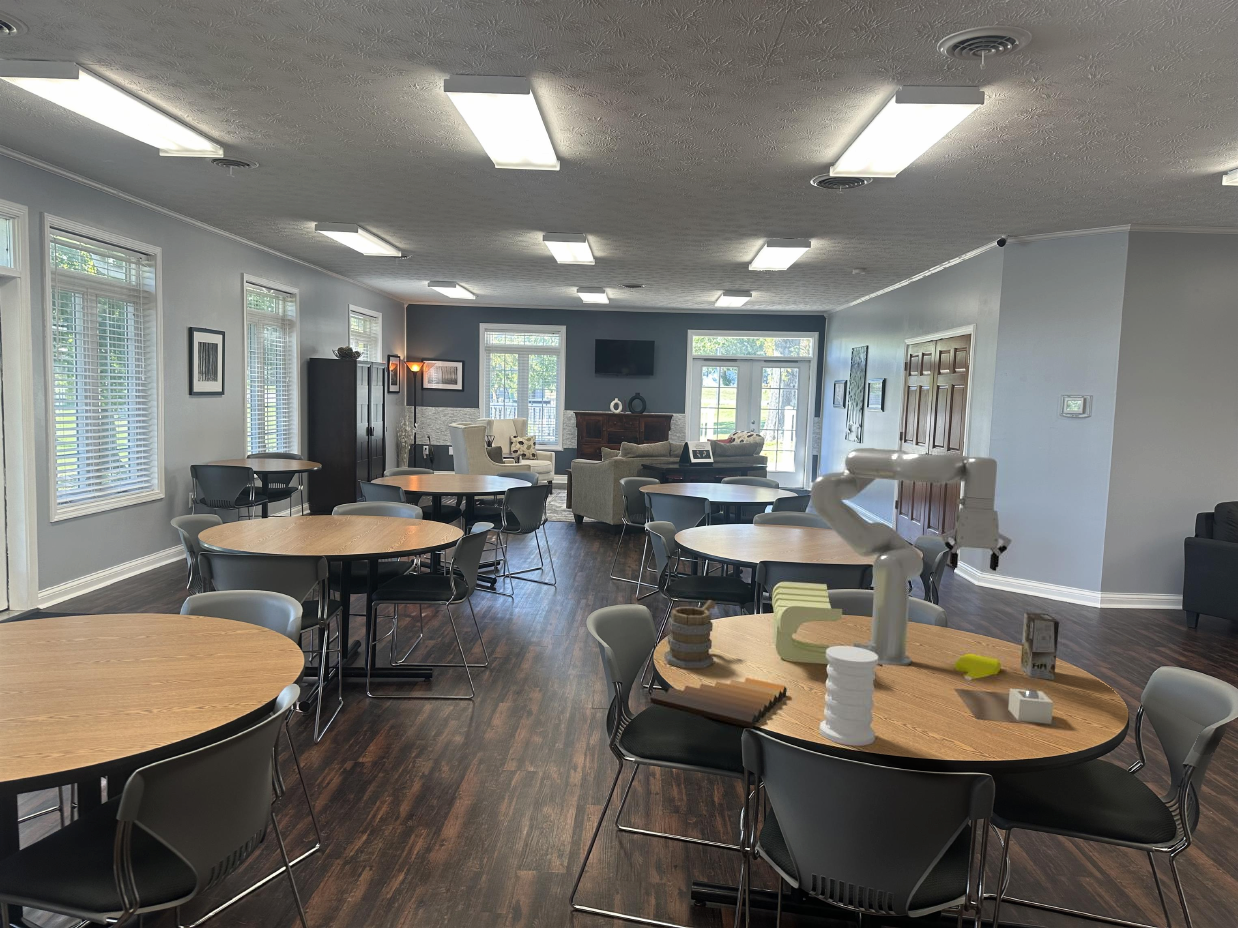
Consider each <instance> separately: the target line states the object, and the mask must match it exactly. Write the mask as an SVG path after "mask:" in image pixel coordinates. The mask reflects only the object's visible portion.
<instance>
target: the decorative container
mask: <svg viewBox="0 0 1238 928" xmlns="http://www.w3.org/2000/svg"><path fill="white" fill-rule="evenodd" d="M826 658H827V659H828V660H829V664H827V666H826V673H827V679H826V681H825V687H826V690H827V691H826V693H825V695H824V696H825V697H824V700H825V704H826V705H825V707H824V710H823V713H824V718H825V720H822V721H821V722H820V724H819V734H820V735H821V736H822V737H824V738H825V739H826V740H828V741H831V742H832V743H833V742H834V743H837V744H839V745H846V746H852V747H861V746H867V745H871V744H873V743H874V742H875V739H876V732H875V730H874V728H872V727H871V725H872V722H873V713H872V710H873V708H874V700H873V695H874V693H875V686H874V681H875V678H876V676H877V675H876V671H875V667H876V666H877V665H879V664H878V655H877V654H875V653H874V652H872V651H869V650H866V649H862V648H858V647H853V646H851V645H850V646H849V645H848V646H847V645H836V646H835V645H834V646H830V647H829V648H828V649H827V650H826Z"/></svg>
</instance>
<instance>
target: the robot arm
mask: <svg viewBox="0 0 1238 928" xmlns="http://www.w3.org/2000/svg"><path fill="white" fill-rule="evenodd" d="M844 464H845V469H844V470H843V471H840V472H830V473H824V474H822V475H820V476H818V477H817V478H816V479H815V480H814V481H813V483H812V486H811V489H810V502H811V504H812V508H813V510H814V511H815V513H816V514H817V515H818V516H819V518H820V519H821V520H822V521H823V522H824V523H825V524H827V526H828V527H830V528H831V529H832V531H834V532H835V533H836V534H837V535H838V536H839V538H841V539H842V540H843V541H844V542H845V543H846V544H847V545H848V546H849V547H850V548H851V549H852V550H853V551H854V552H855V553H856V554H858V555H859V556H860V557H863V558H864V557H865V558H869V557H874V556H877V557H876V558H875V560H874V562H873V564H872V580H873V601H872V604H873V605H872V617H871V618H872V619H871V620H872V621H871V635H870V636H871V637H870V640H869V639H868V642H865V643H860V642H853V645H852V647H858V648H862V649H866V650H869V651H872V652H874V653H875V654H877V655H878V664H877V665H880V666H883V665H886V666H898V667H907V666H910V665H911V663H912V658H911V657H910V656H908V655H907V654H906V651H907V638H908V637H907V636H908V626H909V625H908V623H909V622H908V620H909V608H910V606H909V605H910V594H909V593H910V592H909V586H908V582H909V581H912V580H914V579H916V578H918V577H919V576H920V575H921V573H922V572H923V569H924V561H923V559H922V556H921V555H920V553H919V552H918V551H917V550H916V549H915V548H914V547H913V546H912V545H911V544H910V543H909V542H908V541H907V540H906V539H904V538H903V537H902V536H901V535H900V534H899V533H898V532H897V531H896V530H895V529H894V528H892V527H891V526H889V525H888V524H886V523H884V522H880V521H879V522H876V521H875V522H874V521H873V522H869V521H867V520H866V519H864V518H863V516H861V515H860V514H859V513H858V511H856V510H855V509H854V508H853V507H851V506H849V505H848V504H846V503H845V502H844V501H846V500H850V499H853V498H855V497H856V496H858V495H859V494H861V492H863V491H864V490H865V489H866V488H867V487H869V485H871V484H872V483H873V482H874V481H876V480H877V479H880V480H889V481H890V480H891V481H901V482H903V481H904V482H905V481H906V482H918V483H928V484H930V483H931V484H951V483H960V482H961V483H962V482H963V495H962V497H961V498H957V500H956V504H958V505H961V507H959V510H958V513H957V516H956V517H957V518H956V521H955V522H956V523H955V527H954V529H952V530H949V531H947V532H945V533H942V534H940V538H941V540H942V542H943V545H944V546H945V547H946V549H948V550H949V551H950V552H949V555H950V556H949V564H950V565H951V567H952V568H953V569H957V568H958V563H959V562H958V561H959V553H958V551H959V550H960V549H961V548H962V547H963V548H969V549H972V548H973V549H985V550H986V549H988V550H991V552H992V553H991V554H990V557H989V558H990V559H989V560H990V561H989V569H990V570H992V571H994V572H996V571H997V568H999V563H1000V556H1001V555H1002V554H1003V553H1004V552H1005V551H1007V549H1008V548H1009V546H1010V545H1011V543H1012V539H1011V538H1009V537H1007V536H1005V535H1003V534H1001V533H1000V531H999V529H1000V528H999V527H1000V526H999V516H998V515H999V514H998V511H997V510H995V509H994V508H995V496H996V485H997V471H998V463H997V461H996V459H995V458H993V457H986V456H985V457H983V456H982V457H981V456H971V457H970V456H965V455H961V454H955V453H954V454H953V453H952V454H922V453H910V452H907V451H905V450H901V449H884V448H883V449H882V448H880V449H879V448H874V447H868V448H867V447H864V448H863V447H862V448H860V447H859V448H855V449H852V450H851V451H850V452H849V453H848V454H847V455H846V458H845V460H844ZM952 537H953V540H954V542H953V543H952V544H951V543H950V540H949V538H952ZM999 539H1000V540H1001V541H1002V544H1001V545H1000V546H999Z"/></svg>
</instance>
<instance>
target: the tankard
mask: <svg viewBox="0 0 1238 928" xmlns="http://www.w3.org/2000/svg"><path fill="white" fill-rule="evenodd" d="M716 604H717V603H716V602H714V601H713V600H711V599H708V601H707V602H706V603H705V604H704V605H703V606H702V607H697V606H695V607H694V606H679V607H675V608H673V609H671V613H670V617H669V618H668V627H669V629H670V631H669V632H670V633H669V634H668V635H667V644H668V646H669V650H668V651H665V652H664V659H665V661H666V662H667V665H670V666H673V667H676V668H681V669H683V670H685V669H686V670H688V669H690V670H691V669H692V670H693V669H694V670H695V669H697V670H698V669H699V670H701V669H705V668H708V667H709V666H711V665H713V664H714V660H715V659H714V657H713V656H712V655H711V654H710V650H712V642H713V641H712V639H711V632H713V625H714V624H713V622H712V620H711V616H712V615H711V613H710V610H711V609H713V610H714V609H715V607H716Z"/></svg>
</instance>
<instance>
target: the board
mask: <svg viewBox="0 0 1238 928" xmlns="http://www.w3.org/2000/svg"><path fill="white" fill-rule="evenodd" d="M953 689H954V691H955V693H956V694H957V695H958V697H959V698H960V700H961V701H962V702H963V704H964V705H965V706H966V708H967V709H968V710H969V711H970V713H971V714H972V715H973V717H974V718H975V720H980V721H981V720H982V721H991V722H993V721H994V722H1000V723H1001V722H1003V723H1009V724H1010V723H1012V724H1021V725H1032V726H1033V725H1034V726H1043V727H1051V728H1052V727H1053V728H1061V725H1060V724H1059V723H1058V722H1057V721H1056V720H1055V719H1054V718H1053V717H1052V721H1051V724H1047V723H1037V722H1027V721H1018V720H1017V719H1016V717H1015V716H1014V715H1013V714H1012V713H1011V712H1010V710H1009V709H1008V707H1009V694H1010V692H1009V693H1006V692H996V691H986V690H985V691H984V690H975V689H965V688H953Z"/></svg>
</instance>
